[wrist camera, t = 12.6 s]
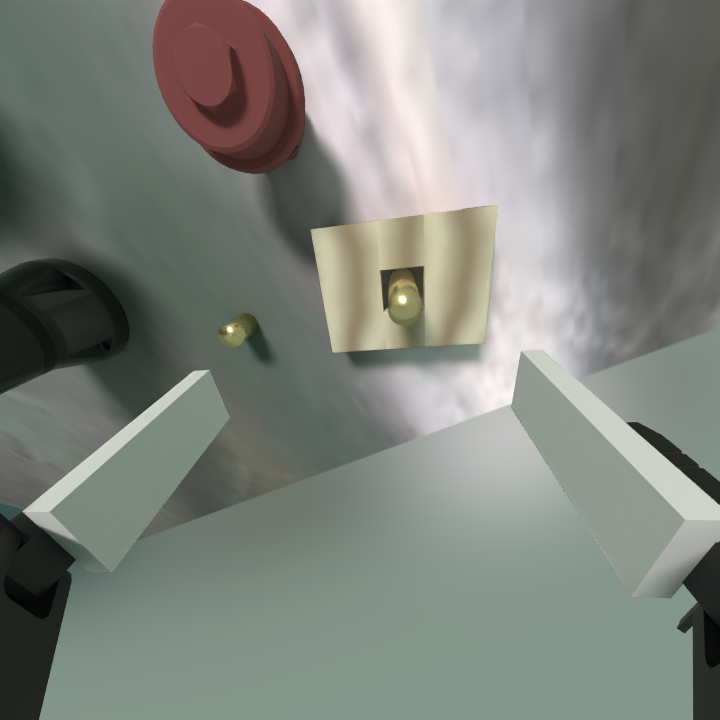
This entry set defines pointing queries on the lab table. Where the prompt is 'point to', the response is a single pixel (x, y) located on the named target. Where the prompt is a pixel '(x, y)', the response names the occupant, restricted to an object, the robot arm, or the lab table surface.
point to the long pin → (404, 298)
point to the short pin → (238, 330)
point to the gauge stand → (402, 250)
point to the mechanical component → (230, 82)
